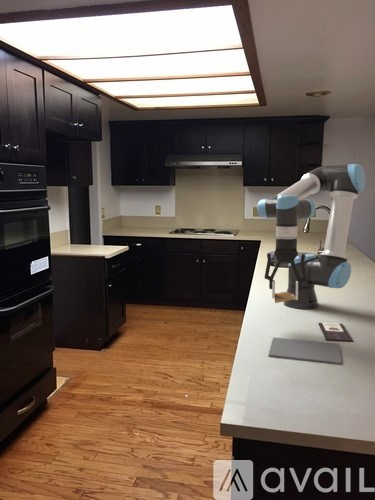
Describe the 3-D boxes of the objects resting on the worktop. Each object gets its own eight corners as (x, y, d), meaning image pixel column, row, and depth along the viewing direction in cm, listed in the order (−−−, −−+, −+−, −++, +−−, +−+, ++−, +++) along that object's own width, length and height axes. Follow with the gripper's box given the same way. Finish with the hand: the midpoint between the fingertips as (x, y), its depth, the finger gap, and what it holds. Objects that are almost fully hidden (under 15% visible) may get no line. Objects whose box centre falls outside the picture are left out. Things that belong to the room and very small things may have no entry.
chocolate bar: (326, 339, 144) (318, 322, 162) (326, 341, 144) (318, 325, 162) (353, 340, 142) (342, 323, 160) (353, 343, 143) (342, 326, 160)
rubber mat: (273, 338, 146) (273, 337, 146) (338, 345, 139) (338, 343, 139) (268, 356, 131) (268, 354, 131) (341, 364, 124) (341, 362, 124)
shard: (274, 304, 148) (274, 299, 148) (261, 299, 155) (261, 294, 154) (297, 299, 153) (297, 295, 153) (283, 295, 160) (283, 290, 159)
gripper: (256, 238, 149) (255, 299, 152) (316, 239, 143) (313, 302, 146) (259, 235, 156) (258, 294, 159) (315, 237, 150) (313, 297, 153)
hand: (284, 298), depth 153 cm, fingers closed on shard, 8 cm apart
